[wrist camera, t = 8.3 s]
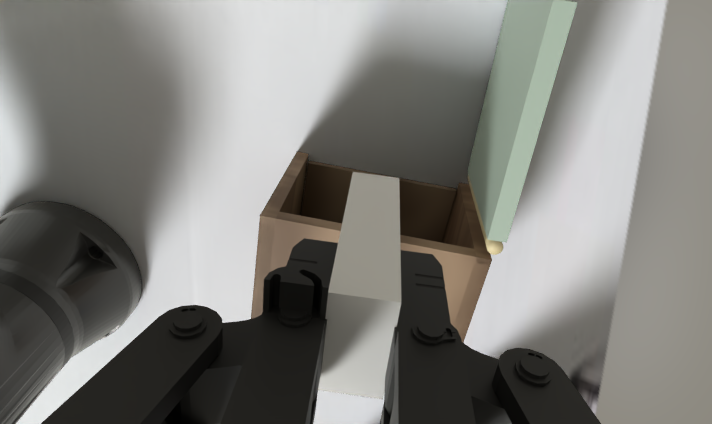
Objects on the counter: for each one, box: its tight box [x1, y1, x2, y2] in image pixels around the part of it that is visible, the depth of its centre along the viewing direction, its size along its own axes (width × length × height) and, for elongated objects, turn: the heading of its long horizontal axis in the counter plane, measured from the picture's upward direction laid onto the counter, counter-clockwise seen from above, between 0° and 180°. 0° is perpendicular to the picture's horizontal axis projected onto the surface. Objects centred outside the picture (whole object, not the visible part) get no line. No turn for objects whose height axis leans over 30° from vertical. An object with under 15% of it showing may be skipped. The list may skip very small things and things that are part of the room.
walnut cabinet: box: [251, 152, 492, 342], centre depth 39 cm, size 15×10×12 cm, turn 80°
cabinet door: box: [467, 0, 578, 255], centre depth 33 cm, size 15×2×12 cm, turn 173°
